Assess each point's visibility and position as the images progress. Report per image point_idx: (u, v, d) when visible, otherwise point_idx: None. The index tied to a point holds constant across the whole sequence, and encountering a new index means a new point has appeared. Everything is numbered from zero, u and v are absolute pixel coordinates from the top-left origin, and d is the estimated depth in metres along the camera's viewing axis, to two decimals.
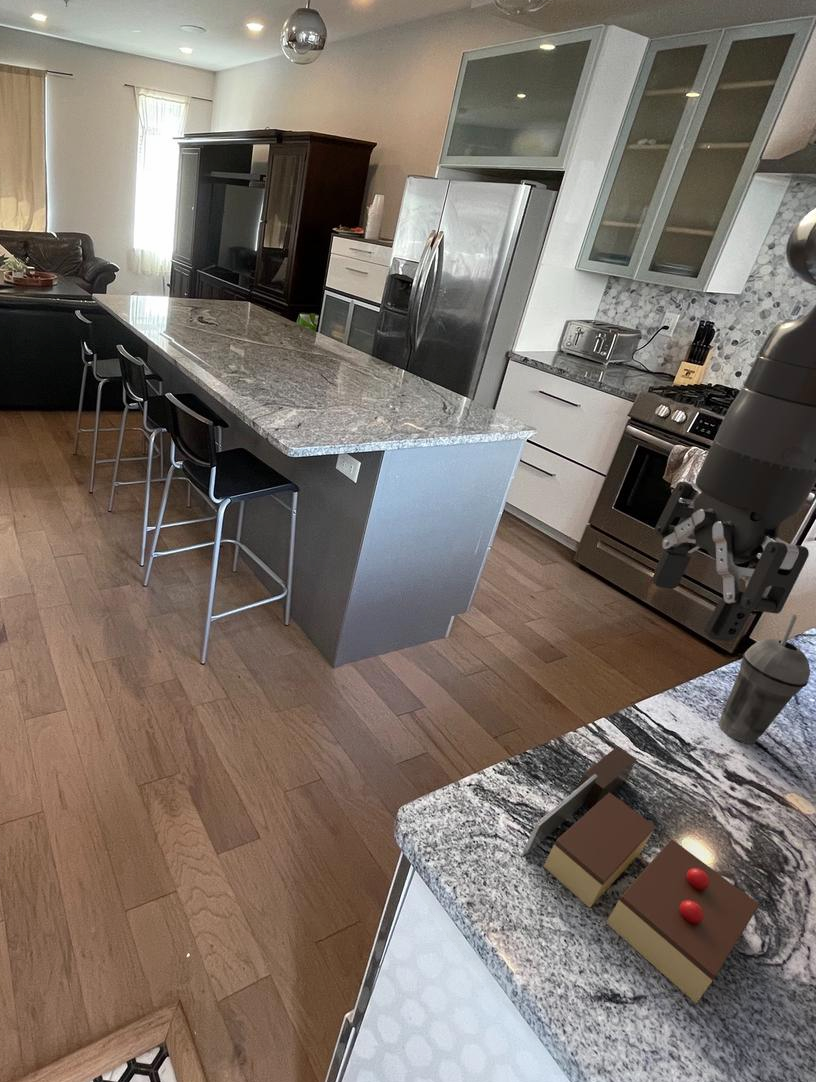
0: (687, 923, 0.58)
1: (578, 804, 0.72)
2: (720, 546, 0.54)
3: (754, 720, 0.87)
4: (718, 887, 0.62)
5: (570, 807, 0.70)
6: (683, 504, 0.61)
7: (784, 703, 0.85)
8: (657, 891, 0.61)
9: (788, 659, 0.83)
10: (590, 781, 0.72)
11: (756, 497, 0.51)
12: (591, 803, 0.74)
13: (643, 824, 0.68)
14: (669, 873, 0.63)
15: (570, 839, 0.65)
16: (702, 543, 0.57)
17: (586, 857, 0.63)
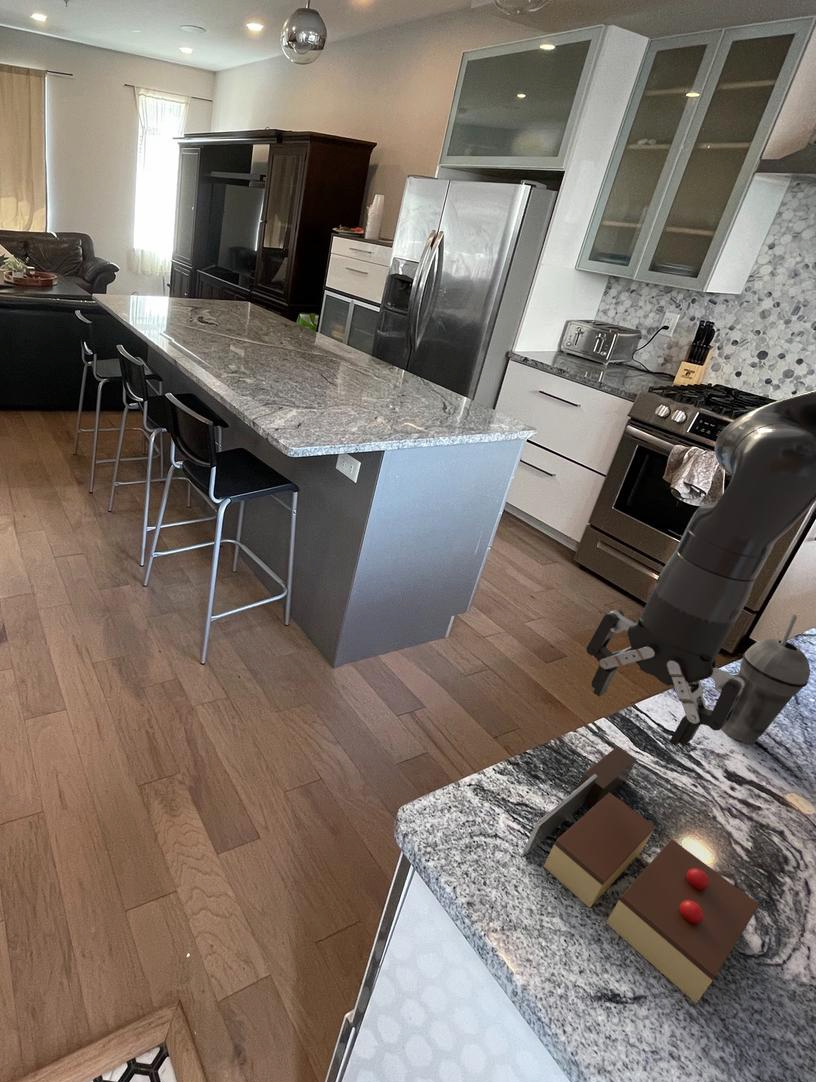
0: (687, 923, 0.58)
1: (578, 804, 0.72)
2: (678, 680, 0.67)
3: (754, 720, 0.87)
4: (718, 887, 0.62)
5: (570, 807, 0.70)
6: None
7: (784, 703, 0.85)
8: (657, 891, 0.61)
9: (788, 659, 0.83)
10: (590, 781, 0.72)
11: (711, 647, 0.64)
12: (591, 803, 0.74)
13: (643, 824, 0.68)
14: (669, 873, 0.63)
15: (570, 839, 0.65)
16: (648, 670, 0.70)
17: (586, 857, 0.63)
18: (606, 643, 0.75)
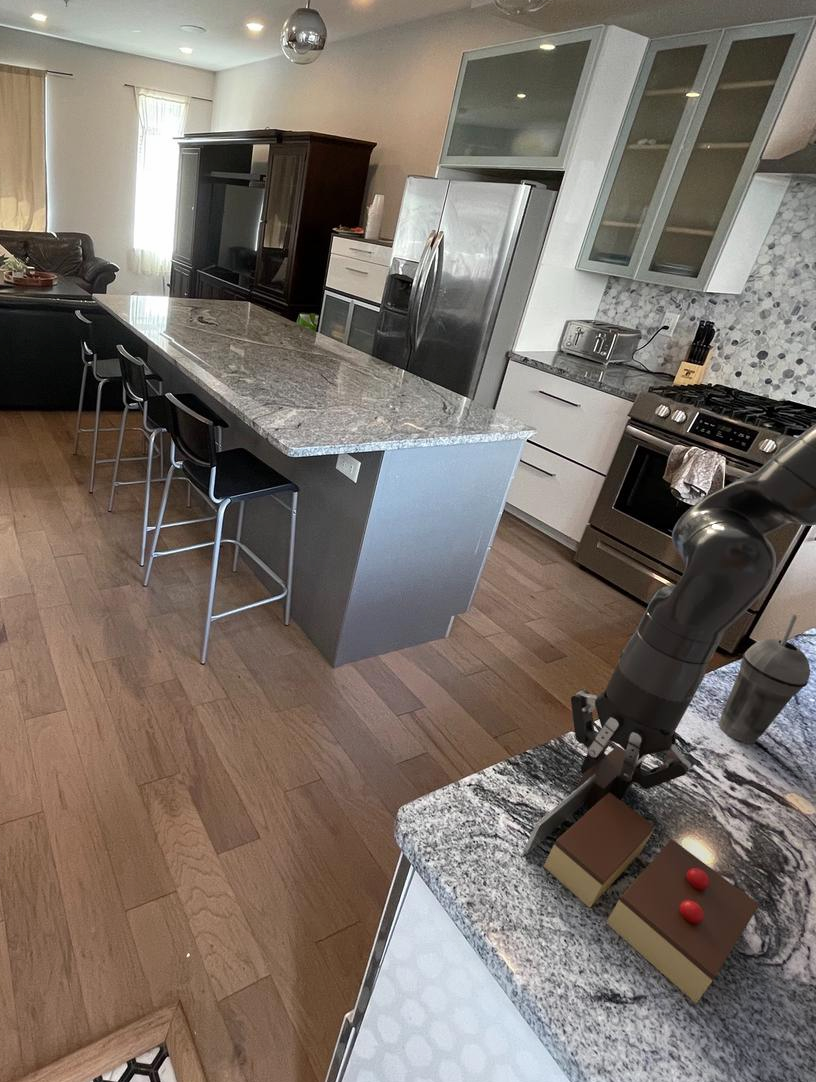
0: (687, 923, 0.58)
1: (578, 804, 0.72)
2: (632, 748, 0.72)
3: (754, 720, 0.87)
4: (718, 887, 0.62)
5: (570, 807, 0.70)
6: (584, 711, 0.77)
7: (784, 703, 0.85)
8: (657, 891, 0.61)
9: (788, 659, 0.83)
10: (590, 781, 0.72)
11: (669, 722, 0.68)
12: (591, 803, 0.74)
13: (643, 824, 0.68)
14: (669, 873, 0.63)
15: (570, 839, 0.65)
16: (614, 739, 0.74)
17: (586, 857, 0.63)
18: (591, 727, 0.78)
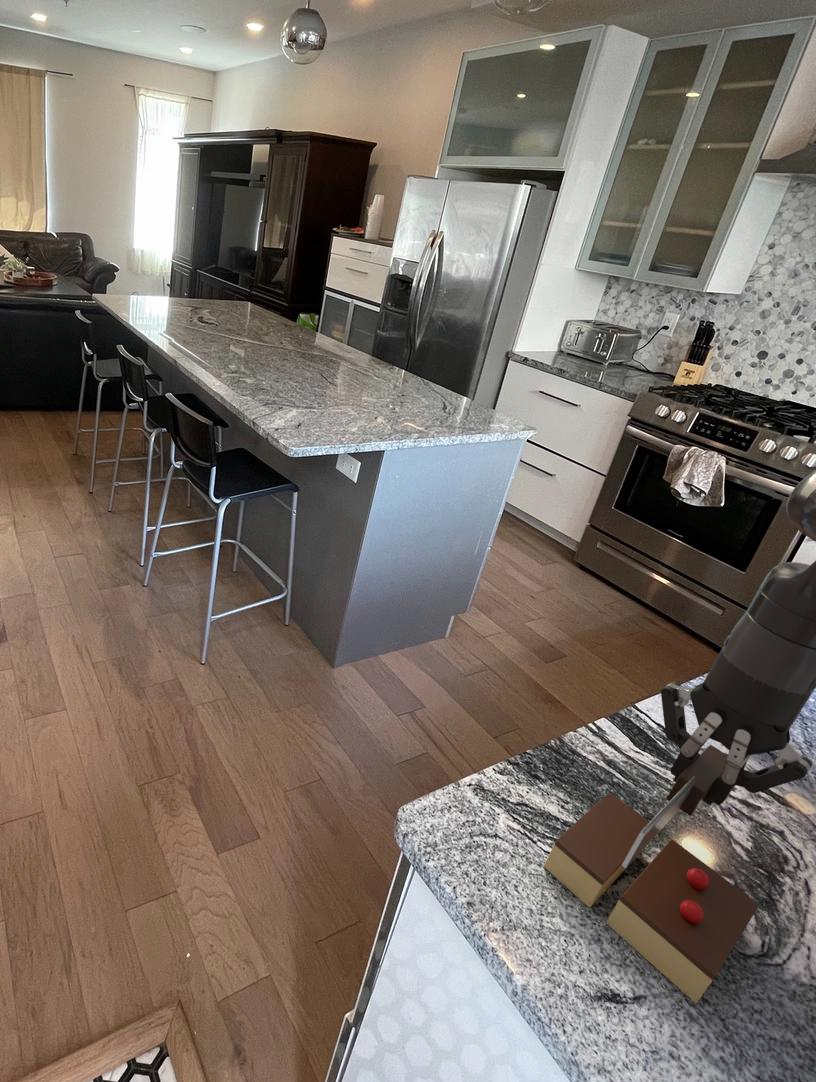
0: (687, 923, 0.58)
1: (676, 810, 0.64)
2: (738, 746, 0.64)
3: None
4: (718, 887, 0.62)
5: (670, 813, 0.62)
6: (677, 705, 0.69)
7: None
8: (657, 891, 0.61)
9: None
10: (690, 784, 0.63)
11: (787, 718, 0.60)
12: (688, 809, 0.65)
13: (643, 824, 0.68)
14: (669, 873, 0.63)
15: (570, 839, 0.65)
16: (714, 736, 0.66)
17: (586, 857, 0.63)
18: (683, 723, 0.70)
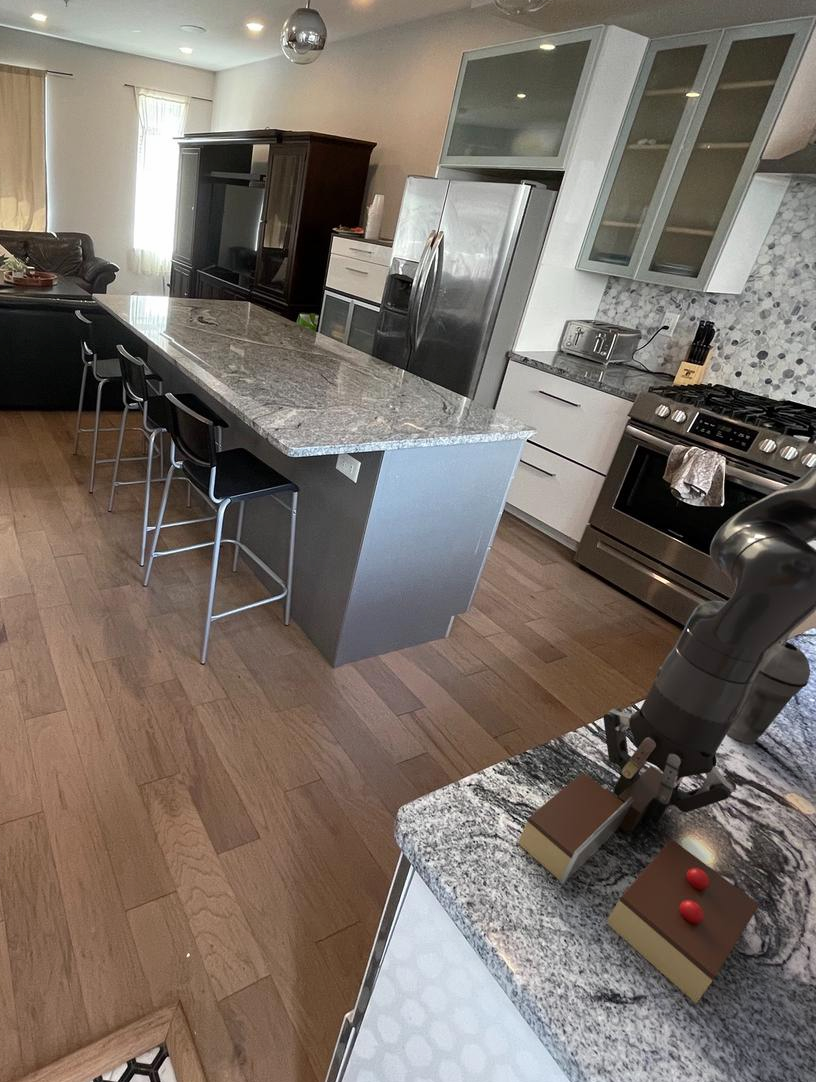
0: (687, 923, 0.58)
1: (614, 829, 0.69)
2: (670, 769, 0.69)
3: (754, 720, 0.87)
4: (718, 887, 0.62)
5: (607, 833, 0.67)
6: (618, 730, 0.74)
7: (784, 703, 0.85)
8: (657, 891, 0.61)
9: (788, 659, 0.83)
10: (627, 805, 0.69)
11: (711, 744, 0.65)
12: (627, 827, 0.71)
13: (614, 802, 0.70)
14: (669, 873, 0.63)
15: (542, 816, 0.67)
16: (650, 759, 0.71)
17: (557, 833, 0.65)
18: (624, 746, 0.75)
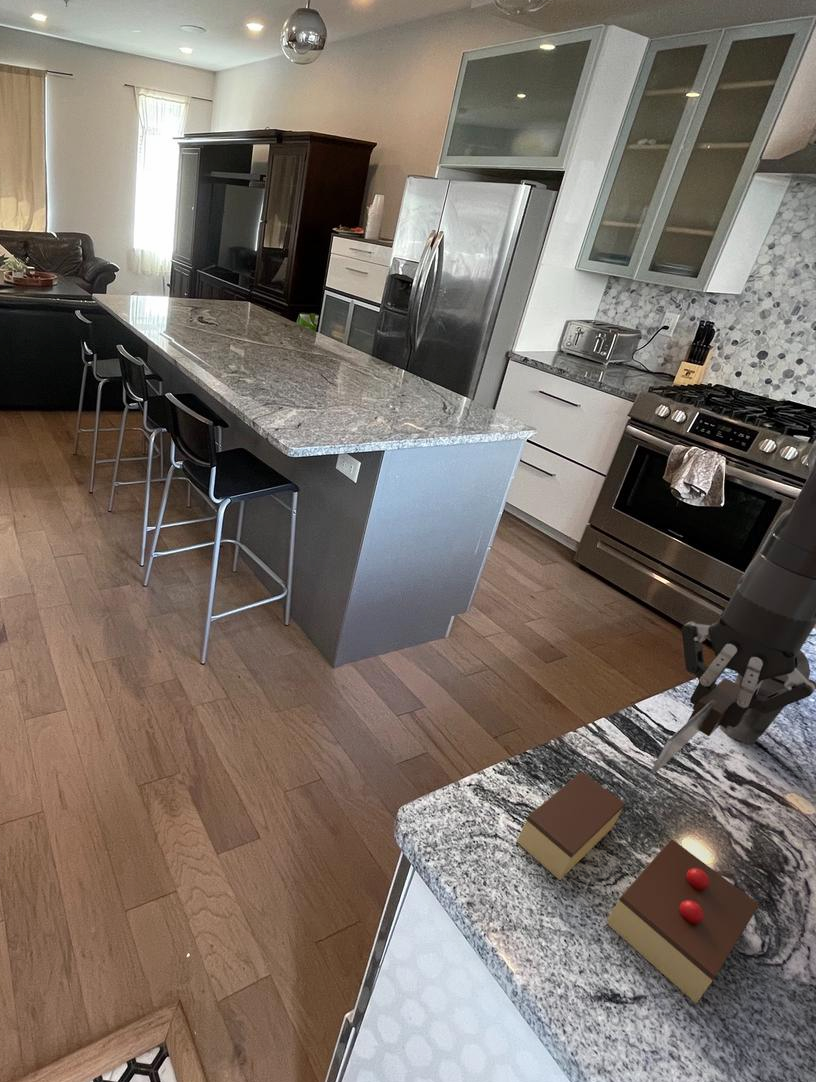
0: (687, 923, 0.58)
1: (696, 729, 0.72)
2: (752, 672, 0.72)
3: (754, 720, 0.87)
4: (718, 887, 0.62)
5: (692, 730, 0.70)
6: (696, 641, 0.77)
7: None
8: (657, 891, 0.61)
9: None
10: (709, 706, 0.72)
11: (795, 643, 0.68)
12: (707, 730, 0.74)
13: (613, 801, 0.70)
14: (669, 873, 0.63)
15: (541, 815, 0.67)
16: (730, 666, 0.74)
17: (556, 831, 0.65)
18: (701, 657, 0.78)
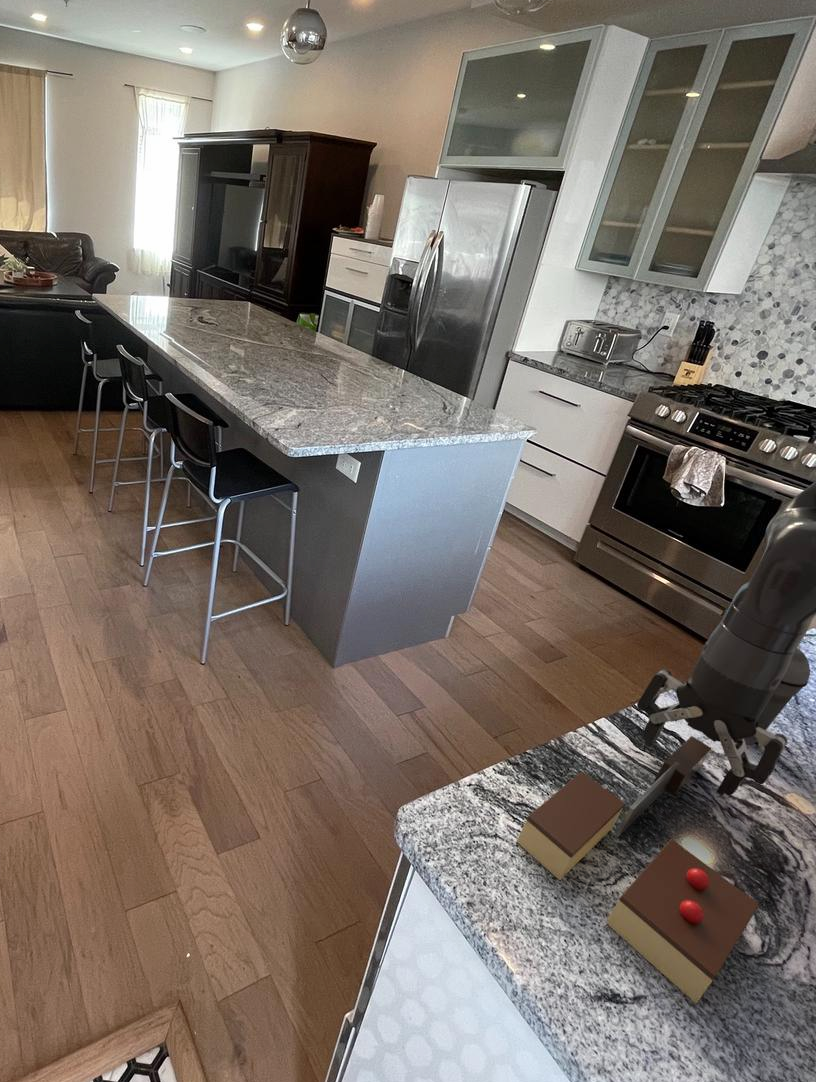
0: (687, 923, 0.58)
1: (661, 790, 0.76)
2: (724, 737, 0.75)
3: None
4: (718, 887, 0.62)
5: (655, 793, 0.74)
6: None
7: (784, 703, 0.85)
8: (657, 891, 0.61)
9: None
10: (673, 768, 0.76)
11: (755, 710, 0.72)
12: (672, 790, 0.78)
13: (613, 801, 0.70)
14: (669, 873, 0.63)
15: (541, 815, 0.67)
16: (696, 727, 0.78)
17: (556, 831, 0.65)
18: (655, 699, 0.83)
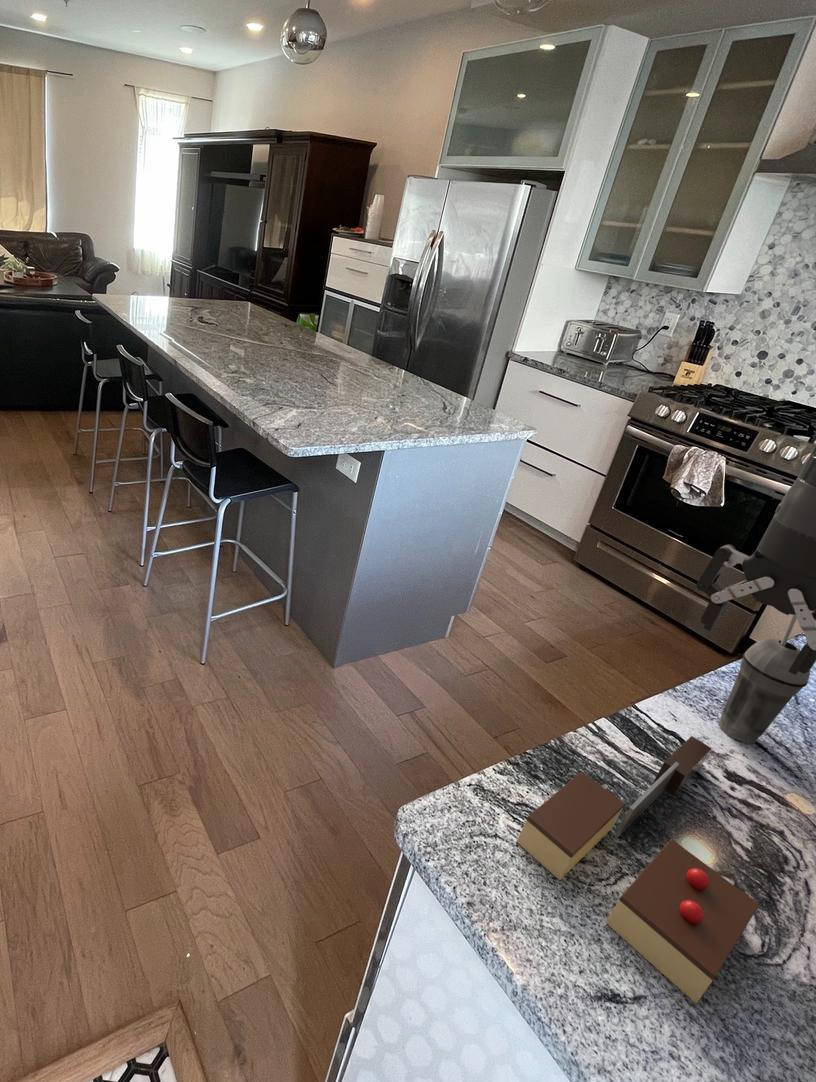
0: (687, 923, 0.58)
1: (661, 790, 0.76)
2: (800, 607, 0.68)
3: (754, 720, 0.87)
4: (718, 887, 0.62)
5: (655, 793, 0.74)
6: (723, 565, 0.74)
7: (784, 703, 0.85)
8: (657, 891, 0.61)
9: (788, 659, 0.83)
10: (673, 768, 0.76)
11: None
12: (672, 790, 0.78)
13: (613, 801, 0.70)
14: (669, 873, 0.63)
15: (541, 815, 0.67)
16: (766, 601, 0.71)
17: (556, 831, 0.65)
18: (716, 579, 0.76)
